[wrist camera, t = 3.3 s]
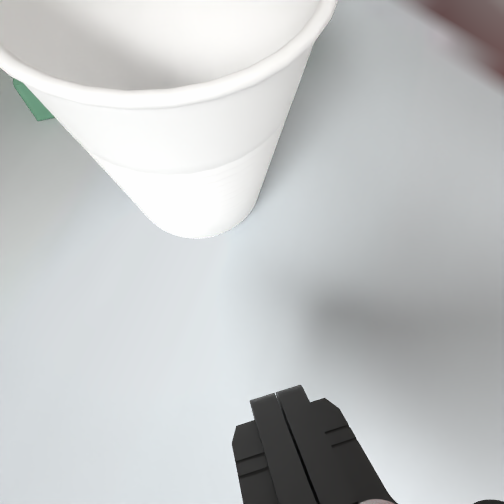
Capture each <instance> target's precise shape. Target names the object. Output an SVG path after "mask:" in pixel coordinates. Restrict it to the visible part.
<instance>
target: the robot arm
mask: <svg viewBox="0 0 504 504" xmlns="http://www.w3.org/2000/svg"><path fill="white" fill-rule="evenodd" d="M276 396H277V398H276ZM250 404H251V408H252V412H253V416H254V421H251V422H247V423H244V424H241V425H238V426H236V430H235V433H234V437H233V441H232V447H233V452H234V457H235V462H236V467H237V472H238V477H239V483H240V488H241V493H242V498H243V503H244V504H398V503H396V502H395V501H394V500H393V499H392V497H391V496H390V495H389V494H388V492H387V491H386V489H385V487H384V485H383V484H382V482H381V480H380V478H379V477H378V475H377V473H376V472H375V470H374V468H373V466H372V465H371V463H370V461H369V459H368V458H367V456H366V454H365V452H364V451H363V449H362V447H361V445H360V444H359V442H358V441H357V440H356V437H355V435H354V433H353V432H352V430H351V428H349V425H348V423H347V421H346V419H345V418H344V416H343V414H342V413H341V411H340V409H339V408H338V407H336V406H335V405H334V404H332V403H331V402H330V401H328V400H327V399H326V398H323V399H320V400H316V401H313V402H309V400H308V398H307V395H306V393H305V391H304V389H303V387H302V386H301V385H298V386H295V387H292V388H288V389H285V390H282V391H279V392H276V395H275V393H273V394H269V395H266V396H263V397H260V398H256V399H253V400H250ZM474 504H504V502H503V501H499V500H482V501H478V502H476V503H474Z"/></svg>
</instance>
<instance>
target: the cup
mask: <svg viewBox="0 0 504 504" xmlns="http://www.w3.org/2000/svg"><path fill="white" fill-rule="evenodd" d="M337 3H338V0H0V68H1V69H2V70H4V71H5V72H6V73H7V74H9V75H10V76H11V77H13V78H15V79H17V80H19V81H21V82H23V83H24V84H25V85H26V87H27V88H28V89H29V90H30V91H31V92H32V93H33V94H34V95H35V96H36V97H37V98H38V99H39V101H40V102H41V103H42V104H43V105H44V106H45V107H46V108H47V109H48V110H49V111H50V112H51V114H52V115H53V116H54V117H55V118H56V119H57V120H58V121H59V122H60V123H61V124H62V125H63V126H64V128H65V129H66V130H67V131H68V132H69V133H70V134H71V135H72V136H73V137H74V138H75V139H76V140H77V141H78V142H79V143H80V144H81V145H82V146H83V148H84V149H85V150H86V151H88V153H89V154H90V155H91V157H93V158H94V159H95V160H96V162H97V163H98V164H99V165H100V166H101V167H102V168H103V169H104V171H106V172H107V173H108V174H109V176H110V177H111V178H112V179H113V180H114V181H115V182H116V183H117V184H118V185H119V186H120V188H121V189H122V190H123V191H124V192H125V193H126V194H127V195H128V196H129V197H130V199H131V200H132V201H133V202H134V203H135V204H136V205H137V207H138V208H139V209H140V210H141V211H142V212H143V213H144V214H145V215H146V216H147V217H148V218H149V219H150V221H152V222H153V223H154V224H155V225H156V226H158V227H159V228H160V229H162V230H164V231H166V232H168V233H170V234H173V235H176V236H179V237H185V238H193V239H195V238H208V237H212V236H216V235H220V234H222V233H224V232H227V231H229V230H231V229H232V228H234V227H235V226H237V225H238V224H240V223H241V222H242V221H243V220H244V219H245V218H246V217H247V216H248V215H249V213H250V212H251V210H252V209H253V207H254V206H255V203H256V201H257V198H258V196H259V193H260V190H261V187H262V185H263V182H264V179H265V176H266V173H267V171H268V168H269V165H270V162H271V159H272V157H273V154H274V151H275V149H276V146H277V143H278V140H279V137H280V135H281V132H282V129H283V127H284V123H285V121H286V118H287V115H288V113H289V110H290V107H291V105H292V102H293V99H294V97H295V94H296V91H297V89H298V86H299V83H300V80H301V78H302V75H303V72H304V70H305V67H306V64H307V61H308V59H309V56H310V53H311V50H312V48H313V45H314V42H315V41H316V39H317V38H318V37H319V35H320V34H321V33H322V31H323V30H324V28H325V27H326V26H327V24H328V23H329V22H330V20H331V19H332V16H333V13H334V11H335V8H336V5H337Z"/></svg>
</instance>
